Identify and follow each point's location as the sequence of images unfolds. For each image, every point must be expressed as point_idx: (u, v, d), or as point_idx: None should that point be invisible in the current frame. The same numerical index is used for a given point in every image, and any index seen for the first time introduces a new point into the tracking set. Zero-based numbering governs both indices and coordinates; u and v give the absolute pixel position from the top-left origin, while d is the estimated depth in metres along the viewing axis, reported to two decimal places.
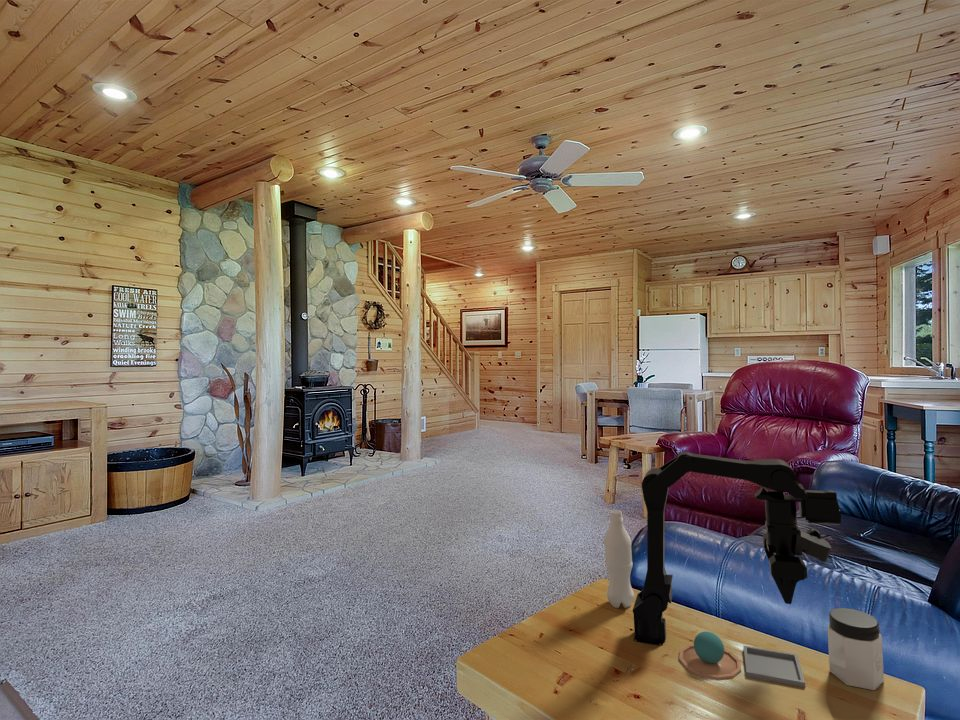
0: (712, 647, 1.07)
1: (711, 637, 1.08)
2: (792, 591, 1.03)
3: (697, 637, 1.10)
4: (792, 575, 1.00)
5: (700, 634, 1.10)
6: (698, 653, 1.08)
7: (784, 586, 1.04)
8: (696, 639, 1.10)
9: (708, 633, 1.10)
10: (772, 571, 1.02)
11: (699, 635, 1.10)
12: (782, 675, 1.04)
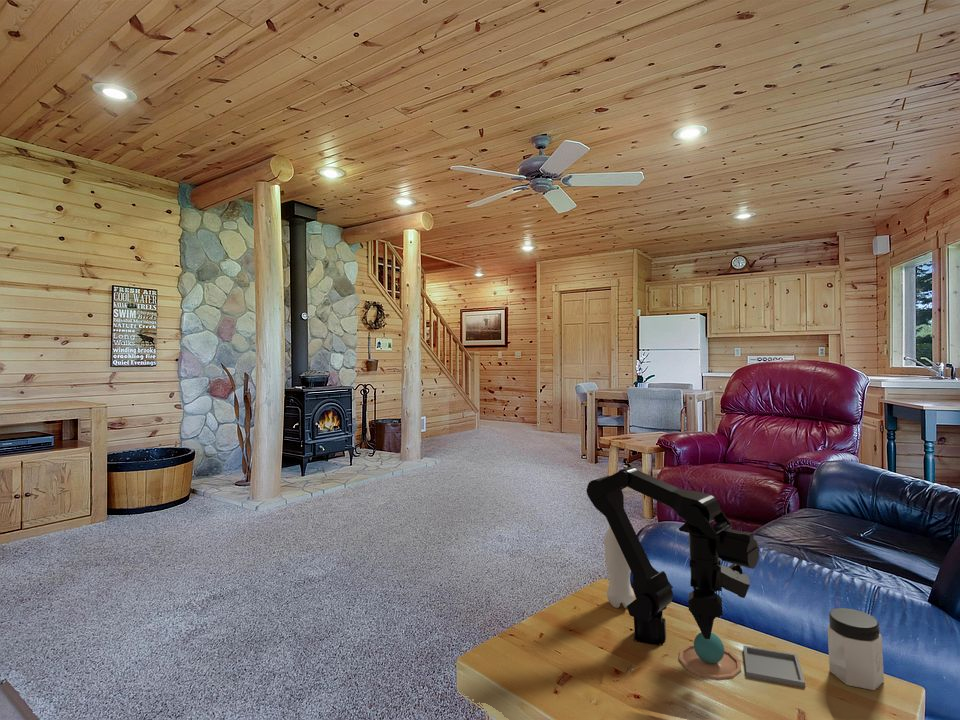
0: (712, 647, 1.07)
1: (711, 637, 1.08)
2: (710, 627, 1.04)
3: (697, 637, 1.10)
4: (708, 612, 1.01)
5: (700, 634, 1.10)
6: (698, 653, 1.08)
7: (703, 622, 1.05)
8: (696, 639, 1.10)
9: None
10: (689, 607, 1.03)
11: (699, 635, 1.10)
12: (782, 675, 1.04)
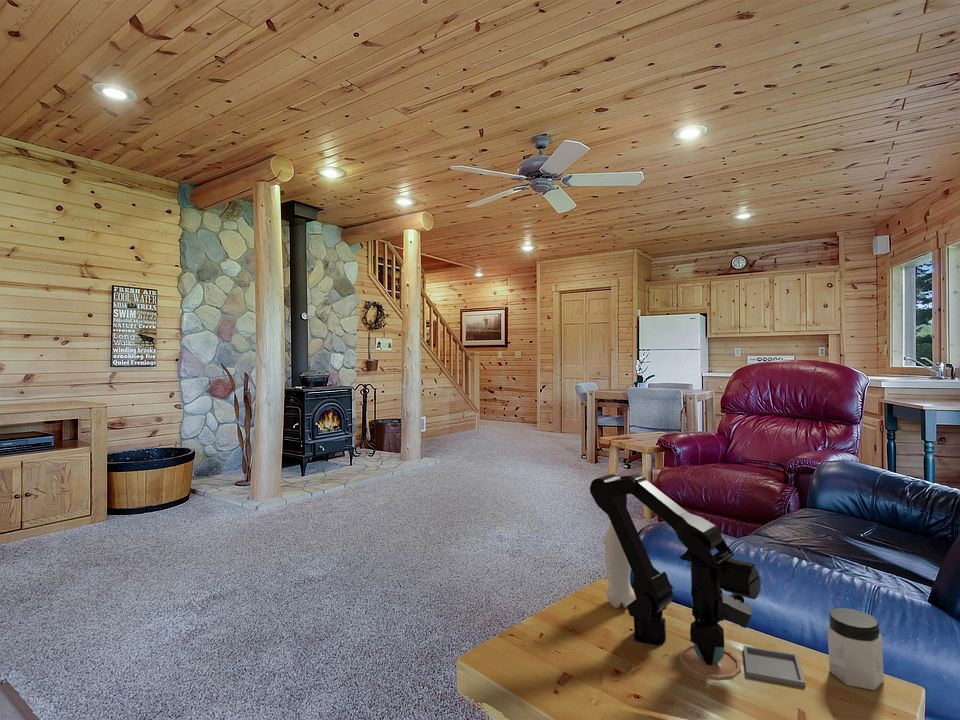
0: None
1: None
2: (712, 653, 1.06)
3: None
4: (710, 643, 1.01)
5: None
6: (698, 653, 1.08)
7: (705, 648, 1.06)
8: None
9: None
10: (691, 638, 1.03)
11: None
12: (782, 675, 1.04)
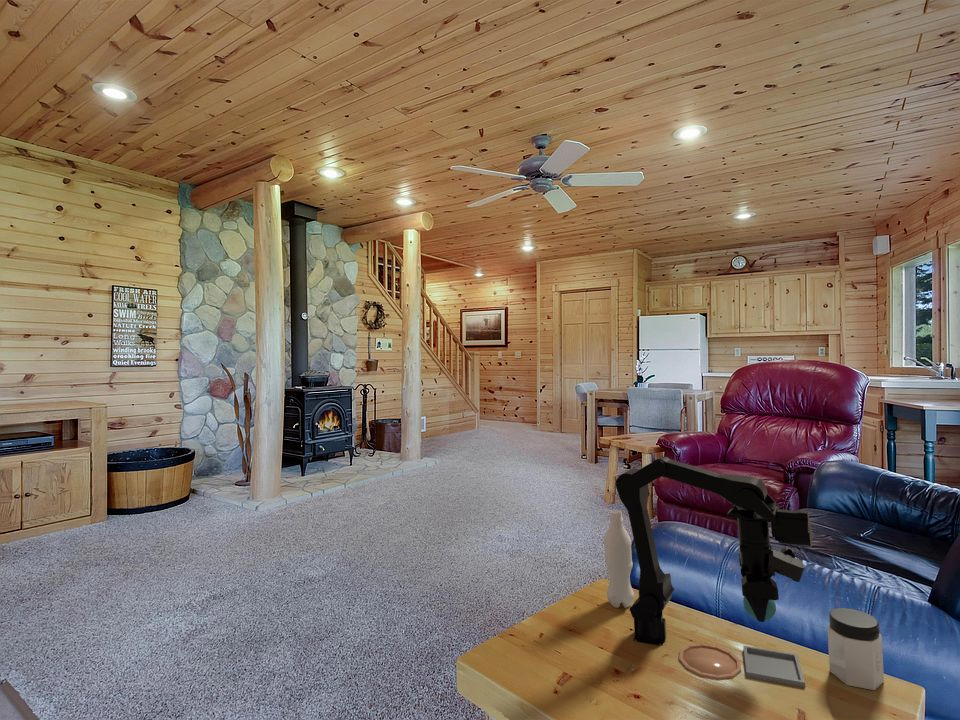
0: None
1: None
2: (764, 609, 1.03)
3: None
4: (763, 597, 0.98)
5: None
6: (749, 610, 1.06)
7: (757, 604, 1.03)
8: None
9: None
10: (743, 593, 1.00)
11: None
12: (782, 675, 1.04)
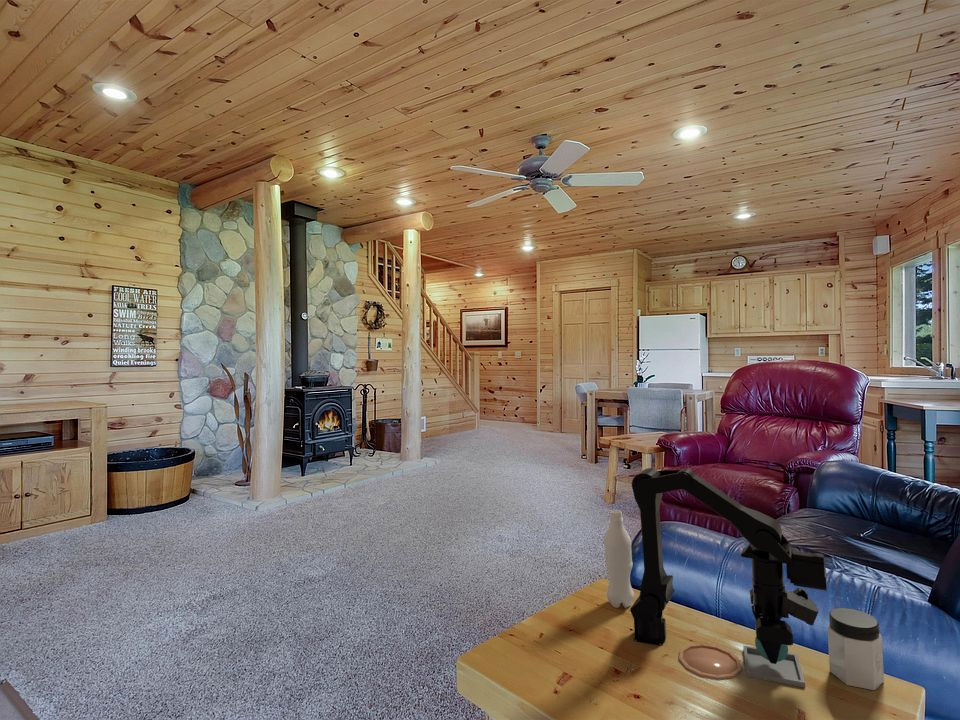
0: None
1: None
2: (777, 652, 1.02)
3: None
4: (778, 641, 0.98)
5: None
6: (761, 651, 1.05)
7: (770, 646, 1.03)
8: None
9: None
10: (757, 636, 0.99)
11: None
12: (782, 675, 1.04)
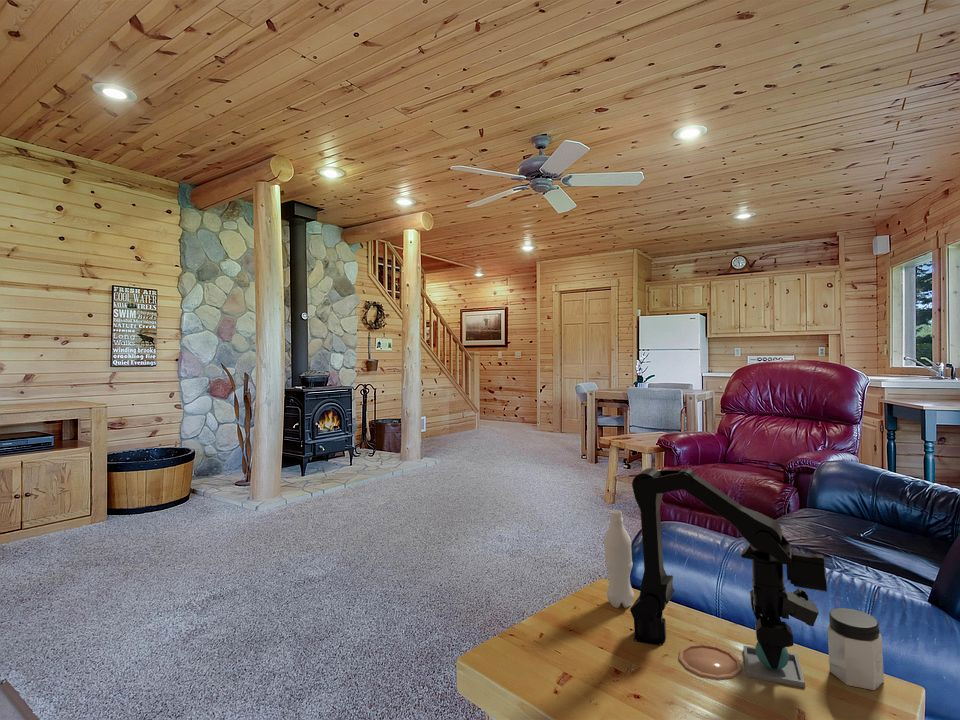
0: None
1: None
2: (778, 657, 1.01)
3: None
4: (778, 642, 0.98)
5: None
6: (761, 659, 1.05)
7: (771, 651, 1.01)
8: (759, 644, 1.07)
9: None
10: (758, 637, 0.99)
11: None
12: (782, 675, 1.04)
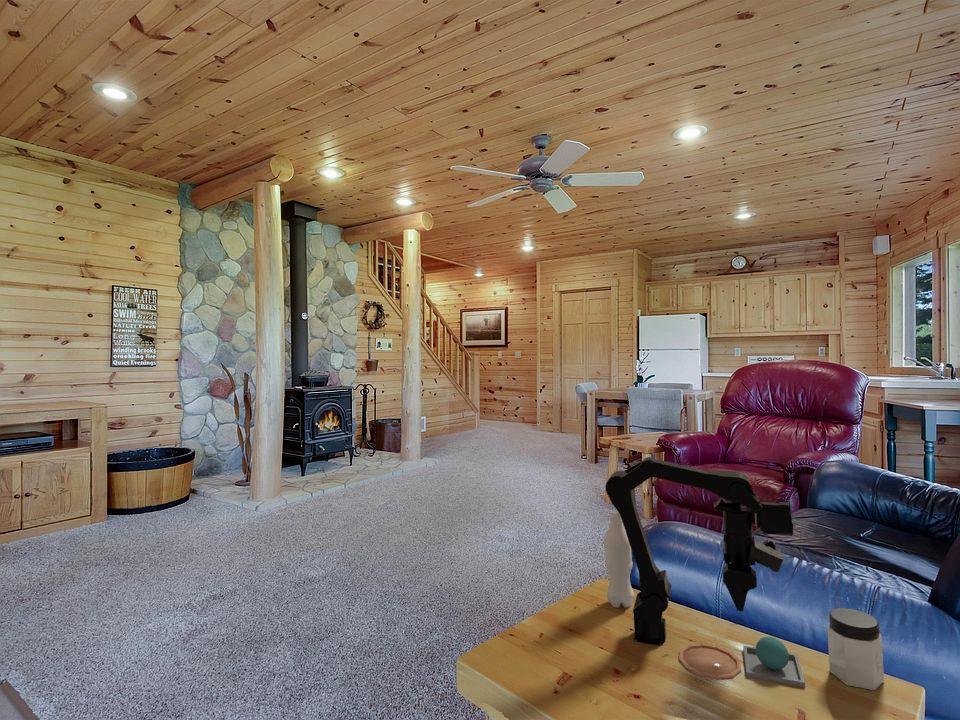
0: (777, 653, 1.04)
1: (775, 643, 1.05)
2: (744, 599, 1.07)
3: (760, 643, 1.07)
4: (742, 584, 1.04)
5: (763, 639, 1.07)
6: (761, 659, 1.05)
7: (737, 594, 1.08)
8: (759, 645, 1.07)
9: (771, 638, 1.06)
10: (724, 579, 1.06)
11: (762, 641, 1.07)
12: (782, 675, 1.04)
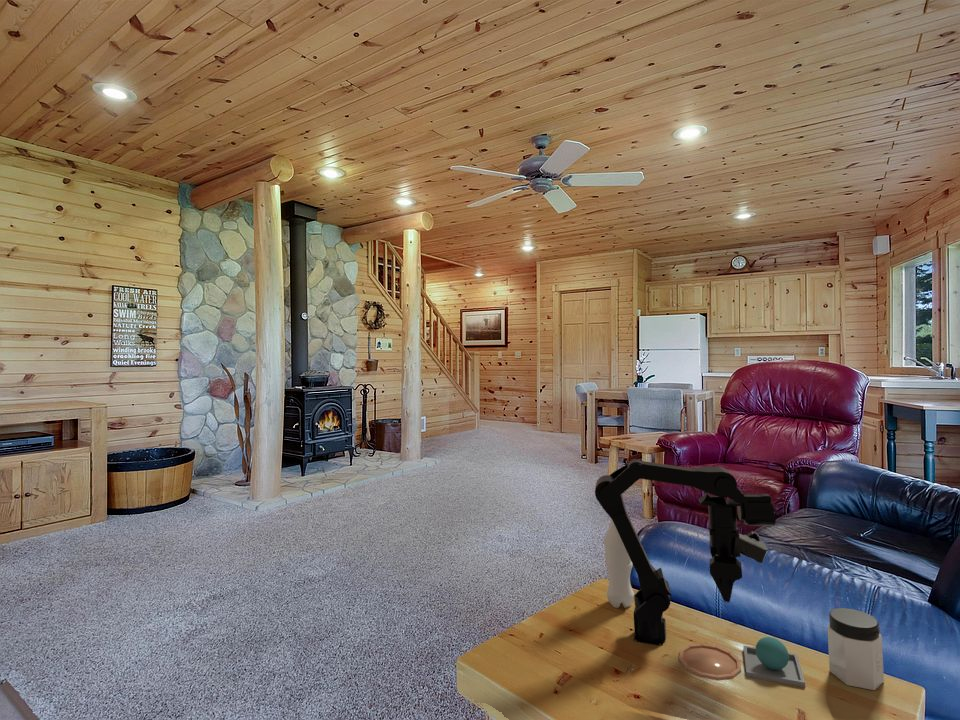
0: (777, 654, 1.04)
1: (775, 643, 1.05)
2: (730, 590, 1.11)
3: (760, 643, 1.07)
4: (728, 575, 1.07)
5: (763, 640, 1.07)
6: (762, 659, 1.05)
7: (723, 586, 1.11)
8: (759, 645, 1.07)
9: (771, 639, 1.06)
10: (710, 571, 1.09)
11: (762, 641, 1.07)
12: (782, 675, 1.04)
